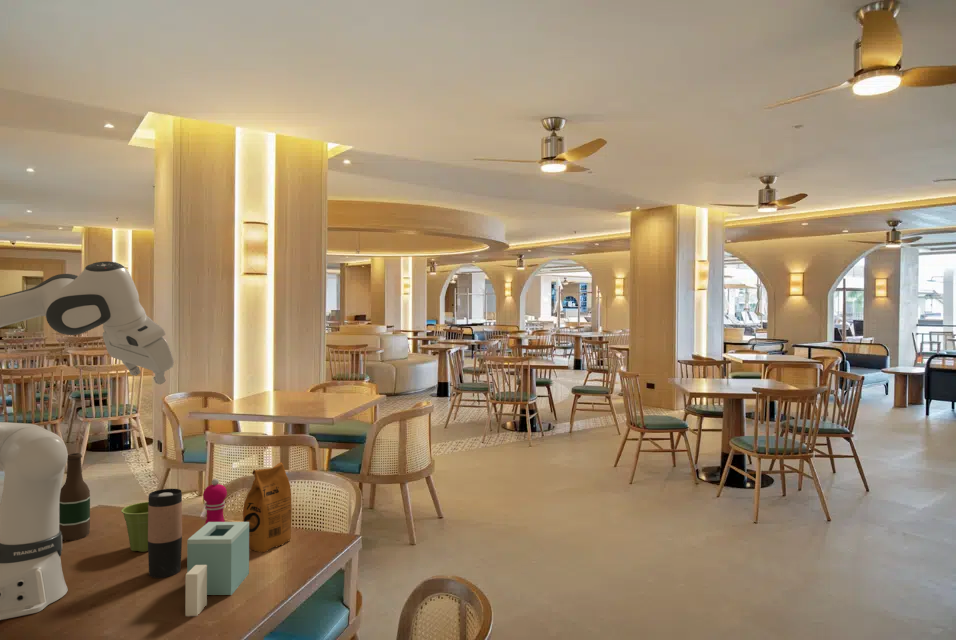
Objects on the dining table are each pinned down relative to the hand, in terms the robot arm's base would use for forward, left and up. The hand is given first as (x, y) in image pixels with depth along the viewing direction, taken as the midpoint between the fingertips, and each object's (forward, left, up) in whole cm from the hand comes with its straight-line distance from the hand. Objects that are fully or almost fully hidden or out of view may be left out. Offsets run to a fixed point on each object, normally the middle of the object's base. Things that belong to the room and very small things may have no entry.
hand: (148, 378), depth 146 cm
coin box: (+13, -12, -49) cm, 52 cm away
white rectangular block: (+4, -22, -49) cm, 54 cm away
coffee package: (+32, +5, -50) cm, 59 cm away
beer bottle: (-7, +48, -50) cm, 69 cm away
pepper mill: (+19, +9, -50) cm, 54 cm away
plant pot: (+6, +25, -50) cm, 56 cm away
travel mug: (+5, +4, -50) cm, 50 cm away
